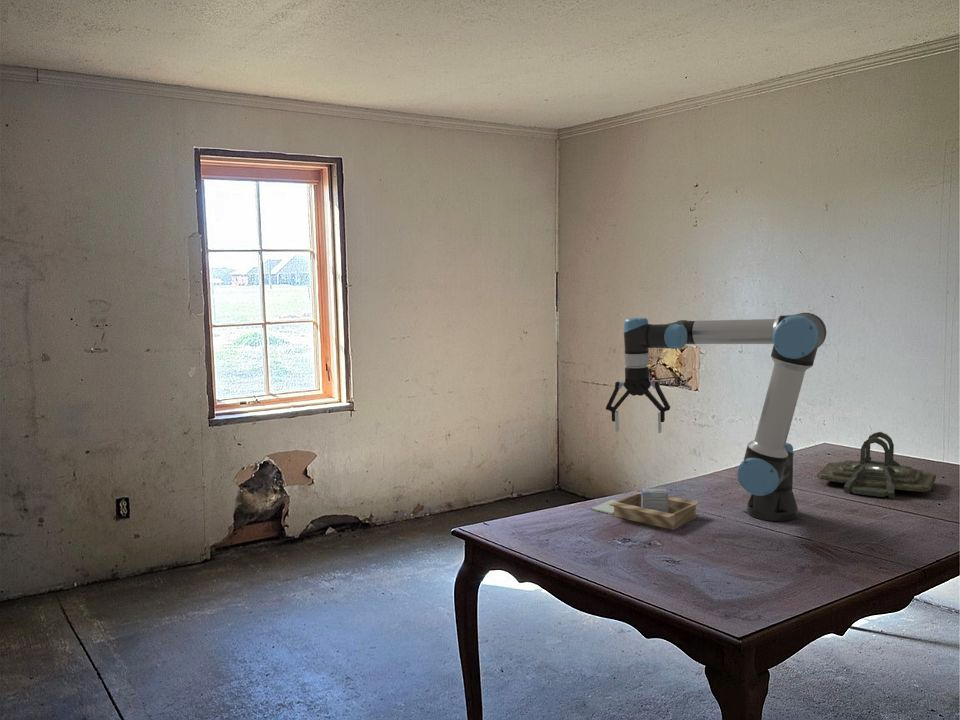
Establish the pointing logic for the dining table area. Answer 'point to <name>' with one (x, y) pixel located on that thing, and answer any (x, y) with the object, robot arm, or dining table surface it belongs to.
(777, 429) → the robot arm
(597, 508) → the mat
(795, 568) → the dining table surface
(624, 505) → the wooden tray
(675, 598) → the dining table surface
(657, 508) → the medicine box
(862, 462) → the olive flat handled piece
